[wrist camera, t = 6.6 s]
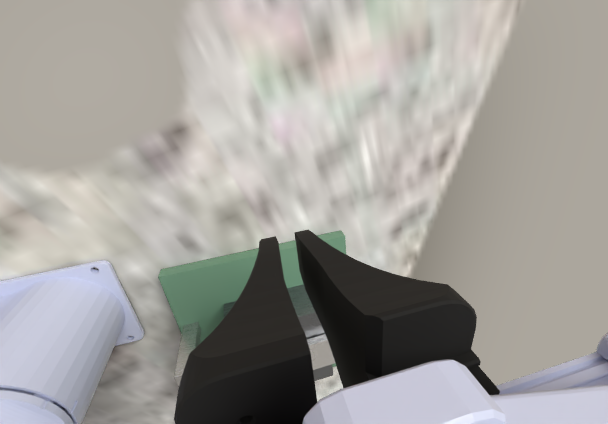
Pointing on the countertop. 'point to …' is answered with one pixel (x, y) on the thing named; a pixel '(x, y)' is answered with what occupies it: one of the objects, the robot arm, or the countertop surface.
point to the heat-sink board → (233, 295)
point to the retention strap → (320, 352)
